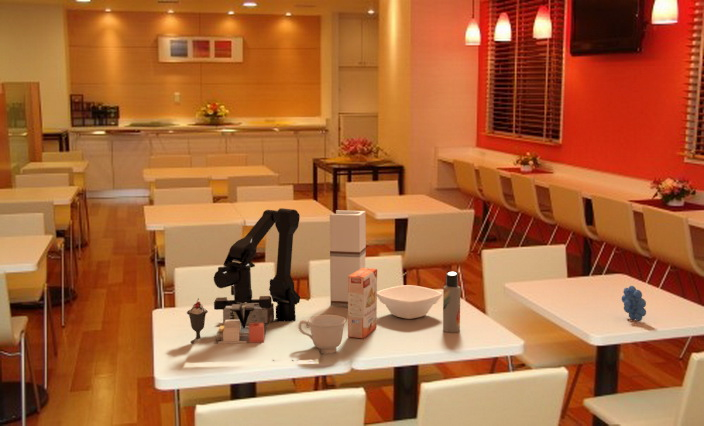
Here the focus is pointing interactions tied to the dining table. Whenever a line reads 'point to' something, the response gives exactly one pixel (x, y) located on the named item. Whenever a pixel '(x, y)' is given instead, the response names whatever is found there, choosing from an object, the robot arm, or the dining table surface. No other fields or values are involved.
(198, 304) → the sundae
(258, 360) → the dining table surface
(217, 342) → the panel
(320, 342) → the teacup
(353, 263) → the white banded column
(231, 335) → the block
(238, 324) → the block
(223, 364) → the dining table surface
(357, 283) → the cracker box
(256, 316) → the coffee box
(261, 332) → the orange rectangular prism
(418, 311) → the bowl
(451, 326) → the lotion bottle
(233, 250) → the robot arm
